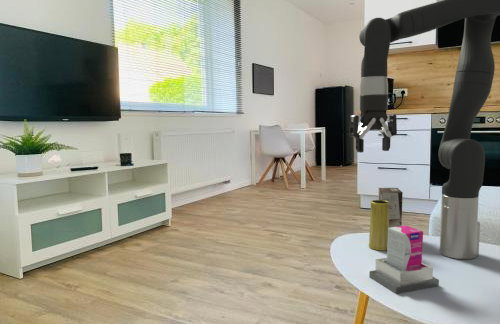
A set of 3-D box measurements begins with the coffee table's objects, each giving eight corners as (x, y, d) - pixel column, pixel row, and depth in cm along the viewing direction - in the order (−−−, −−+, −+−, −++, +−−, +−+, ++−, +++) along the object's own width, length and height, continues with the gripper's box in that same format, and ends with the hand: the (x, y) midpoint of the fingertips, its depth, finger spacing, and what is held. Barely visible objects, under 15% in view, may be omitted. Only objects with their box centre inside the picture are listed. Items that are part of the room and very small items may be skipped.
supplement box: (403, 281, 90) (404, 233, 89) (385, 272, 96) (386, 227, 95) (422, 277, 92) (423, 230, 91) (404, 268, 98) (405, 224, 97)
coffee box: (402, 242, 123) (403, 192, 121) (380, 241, 124) (381, 192, 123) (397, 234, 132) (398, 187, 130) (377, 233, 133) (378, 187, 132)
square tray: (409, 270, 101) (409, 253, 100) (438, 285, 91) (439, 267, 91) (369, 277, 97) (369, 259, 97) (395, 293, 88) (396, 274, 87)
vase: (367, 243, 122) (367, 199, 121) (387, 244, 122) (388, 199, 120) (370, 250, 116) (371, 203, 115) (391, 251, 116) (392, 203, 114)
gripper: (386, 94, 115) (385, 149, 117) (344, 94, 110) (344, 151, 112) (403, 93, 108) (402, 151, 109) (359, 93, 103) (359, 153, 105)
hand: (372, 151), depth 111 cm, fingers open, 8 cm apart
